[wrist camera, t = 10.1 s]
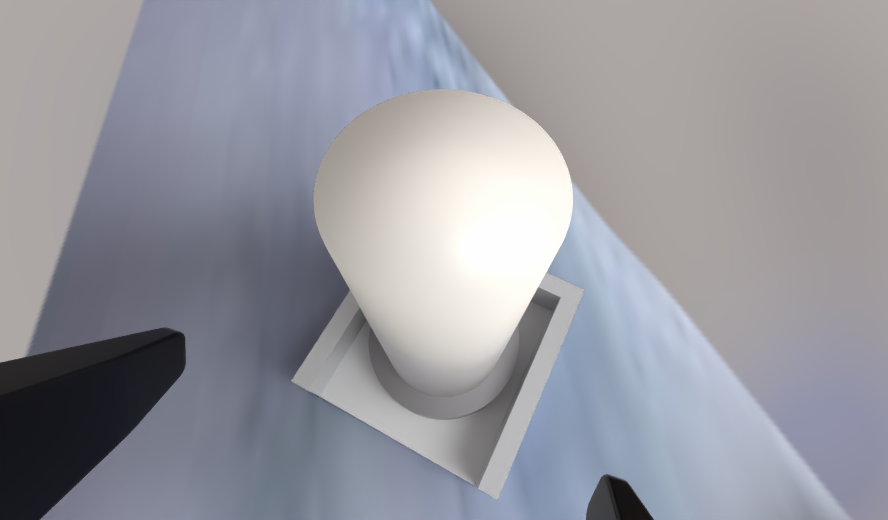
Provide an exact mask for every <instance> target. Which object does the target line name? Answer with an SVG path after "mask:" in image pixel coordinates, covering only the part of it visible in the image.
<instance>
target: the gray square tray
mask: <svg viewBox="0 0 888 520" xmlns="http://www.w3.org/2000/svg"><path fill="white" fill-rule="evenodd" d="M583 293H584V290H583V289H581V288H579V287H576V286H574V285H572V284H570V283H568V282H566V281H563V280H561V279H559V278H557V277H555V276H552V275H550V274H548V273H546V274H545V275H544V277H543V279H542V281H541V283H540V285H539V286H538V288H537V290H536V292H535V294H534V296H533V297H532V299H531V301H530V303H529V305H528V307H527V308H526V310H525V312H524V314H523V316H522V318H521V319H520V321H519V323H518V325H517V326H518V331H519V343H520V345H519V355H518V360H517V364H516V367H515V369H514V372H513V374H512V376H511V378H510V380H509V382H508V383H507V385H506V386H505V387H504V389H503V390H502V391H501V393H500V394H499V395H498V396H497V397H496V398H495V399H494V400H493V401H492V402H491V403H489V404H488V405H487V406H486V407H484V408H483V409H481V410H479V411H478V412H476V413H473V414H471V415H468V416H465V417H462V418H458V419H450V420H437V419H431V418H426V417H423V416H420V415H417V414H415V413H413V412H411V411H409V410H407V409H406V408H404V407H403V406H401V405H400V404H399V403H398V402H396V401H395V400H394V399H393V398H392V397H391V396H390V394H389V393H388V392H387V391H386V390H385V389H384V387H383V386H382V384H381V383H380V381H379V380H378V378H377V376H376V374H375V372H374V369H373V366H372V363H371V359H370V354H369V332H370V327H371V326H370V324H369V323H368V321H367V319H366V317H365V316H364V314H363V312H362V310H361V308H360V307H359V305H358V303H357V301H356V300H355V298H354V296H353V294H352V293H351V291H349V292H348V294H347V295H346V297H345V298H344V300H343V302H342V303H341V305H340V306H339V308H338V309H337V311H336V312H335V314H334V316H333V317H332V319H331V320H330V322H329V323H328V325H327V326H326V328H325V329H324V331H323V333H322V334H321V336H320V337H319V339H318V340H317V342H316V343H315V345H314V346H313V348H312V350H311V351H310V353H309V354H308V356H307V357H306V359H305V360H304V362H303V363H302V365H301V367H300V368H299V370H298V371H297V373H296V374H295V376H294V377H293V379H292V380H291V381H292V382H294V383H295V384H297V385H299V386H301V387H302V388H304V389H306V390H308V391H310V392H312V393H314V394H316V395H318V396H320V397H321V398H323V399H325V400H327V401H328V402H330V403H332V404H334V405H335V406H337V407H339V408H341V409H342V410H344V411H346V412H348V413H349V414H351V415H353V416H355V417H356V418H358V419H360V420H361V421H363V422H365V423H367V424H368V425H370V426H372V427H374V428H375V429H377V430H379V431H381V432H382V433H384V434H386V435H388V436H389V437H391V438H393V439H394V440H396V441H398V442H400V443H401V444H403V445H405V446H407V447H408V448H410V449H412V450H414V451H415V452H417V453H419V454H421V455H422V456H424V457H426V458H427V459H429V460H431V461H433V462H434V463H436V464H438V465H440V466H441V467H443V468H445V469H447V470H448V471H450V472H452V473H454V474H455V475H457V476H459V477H461V478H462V479H464V480H466V481H467V482H469V483H471V484H473V485H474V486H476V487H477V488H478V489H479V490H481V491H483V492H485V493H486V494H488V495H490V496H492V497H493V498H495V499H497V500H498V498H499V495H500V493H501V490H502V488H503V485H504V483H505V481H506V478H507V476H508V473H509V471H510V469H511V466H512V464H513V461H514V459H515V457H516V454H517V452H518V449H519V447H520V444H521V442H522V440H523V437H524V435H525V432H526V430H527V428H528V425H529V423H530V420H531V418H532V416H533V413H534V411H535V408H536V406H537V403H538V401H539V399H540V396H541V394H542V391H543V389H544V387H545V384H546V382H547V379H548V377H549V375H550V372H551V370H552V367H553V365H554V362H555V360H556V358H557V355H558V353H559V350H560V348H561V346H562V343H563V341H564V338H565V336H566V334H567V331H568V329H569V326H570V324H571V321H572V319H573V317H574V314H575V312H576V309H577V307H578V305H579V302H580V300H581V297H582V295H583Z"/></svg>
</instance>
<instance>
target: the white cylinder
mask: <svg viewBox="0 0 888 520" xmlns="http://www.w3.org/2000/svg"><path fill="white" fill-rule="evenodd" d="M572 207H573V192H572V183H571V179H570V175H569V171H568V168H567V165H566V163H565V161H564V158H563V156H562V154H561V152H560V151H559V149H558V148H557V146H556V144H555V143H554V142H553V140H552V139H551V138H550V136H549V135H548V134H547V133H546V132H545V131H544V130H543V129H542V128H541V127H540V126H539V125H538V124H537V123H536V122H535V121H534V120H532V119H531V118H530V117H528V116H527V115H526V114H524V113H523V112H521V111H520V110H518V109H516V108H514V107H513V106H511V105H509V104H507V103H505V102H502V101H500V100H498V99H495V98H492V97H489V96H486V95H483V94H478V93H474V92H469V91H461V90H446V89H437V90H425V91H419V92H413V93H408V94H405V95H401V96H398V97H394V98H392V99H389V100H387V101H384V102H382V103H380V104H378V105H376V106H374V107H372V108H370V109H369V110H367V111H365V112H364V113H363V114H361V115H360V116H358V117H357V118H355V119H354V120H353V121H352V122H351V123H350V124H349V125H347V126H346V127H345V128H344V129H343V130H342V131H341V133H340V134H339V135H338V136H337V137H336V138H335V140H334V141H333V142H332V144H331V145H330V147H329V148H328V150H327V152H326V154H325V156H324V158H323V160H322V162H321V164H320V167H319V170H318V173H317V176H316V181H315V187H314V213H315V220H316V223H317V227H318V230H319V233H320V236H321V238H322V240H323V242H324V244H325V246H326V248H327V250H328V252H329V254H330V255H331V257H332V259H333V261H334V262H335V264H336V266H337V268H338V269H339V271H340V273H341V275H342V277H343V278H344V280H345V282H346V284H347V285H348V287H349V289H350V291H351V293H352V294H353V296H354V298H355V300H356V301H357V303H358V305H359V307H360V308H361V310H362V312H363V314H364V316H365V317H366V319H367V321H368V323H369V324H370V326H371V327H370V332H369V354H370V359H371V363H372V366H373V369H374V372H375V374H376V376H377V378H378V380H379V381H380V383H381V384H382V386H383V387H384V389H385V390H386V391H387V392H388V393H389V394H390V396H391V397H392V398H393V399H394V400H395V401H396V402H398V403H399V404H400V405H401V406H403V407H404V408H406V409H407V410H409V411H411V412H413V413H415V414H417V415H420V416H423V417H426V418H431V419H437V420H450V419H458V418H462V417H465V416H468V415H471V414H473V413H476V412H478V411H479V410H481V409H483V408H484V407H486V406H487V405H488V404H489V403H491V402H492V401H493V400H494V399H495V398H496V397H497V396H498V395H499V394H500V393H501V391H502V390H503V389H504V387H505V386H506V385H507V383H508V382H509V380H510V378H511V376H512V374H513V372H514V369H515V367H516V364H517V360H518V355H519V345H520V343H519V331H518V326H517V325H518V323H519V321H520V319H521V318H522V316H523V314H524V312H525V310H526V308H527V307H528V305H529V303H530V301H531V299H532V297H533V296H534V294H535V292H536V290H537V288H538V286H539V285H540V283H541V281H542V279H543V277H544V275H545V274H546V272H547V270H548V268H549V266H550V264H551V263H552V261H553V259H554V257H555V255H556V253H557V252H558V250H559V248H560V246H561V244H562V243H563V241H564V239H565V236H566V233H567V230H568V228H569V225H570V220H571V215H572Z"/></svg>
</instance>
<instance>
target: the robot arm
mask: <svg viewBox="0 0 888 520" xmlns="http://www.w3.org/2000/svg"><path fill="white" fill-rule="evenodd" d="M185 365H186V349H185V336H184V334H183V333H181V332H179V331H176V330H173V329H170V328H159V329H154V330H149V331H145V332H140V333H135V334H131V335H126V336H122V337H117V338H112V339H108V340H103V341H98V342H94V343H89V344H85V345H80V346H75V347H71V348H66V349H61V350H57V351H52V352H48V353H43V354H38V355H34V356H29V357H24V358H20V359H15V360H11V361H6V362H1V363H0V520H40V519H41V518H42V517H43V516H44V515H45V514H46V513H47V512H48V511H49V510H50V509H51V508H53V507H54V506H55V505H56V504H57V503H58V502H59V501H60V500H61V499H62V498H63V497H64V496H65V495H66V494H67V493H68V492H69V491H70V490H71V489H72V488H73V487H74V486H76V485H77V484H78V483H79V482H80V481H81V480H82V479H83V478H84V477H85V476H86V475H87V474H88V473H89V472H90V471H91V470H92V469H93V468H94V467H95V466H96V465H97V464H99V463H100V462H101V461H102V460H103V459H104V458H105V457H106V456H107V455H108V454H109V453H110V452H111V451H112V450H113V449H114V448H115V447H116V446H117V445H118V444H119V443H120V442H121V441H122V440H123V439H124V438H125V437H126V436H127V435H128V434H129V433H130V432H131V431H132V430H133V429H134V428H135V427H136V426H137V425H138V424H139V423H140V421H141V420H142V419H143V418H144V417H145V416H146V415H147V413H148V412H149V411H150V410H151V409H152V408H153V407H154V405H155V404H156V403H157V402H158V401H159V400H160V399H161V397H162V396H163V395H164V394H165V393H166V392H167V391H168V389H169V388H170V387H171V386H172V385H173V384H174V383H175V381H176V380H177V379H178V378H179V377H180V376H181V374H182V373H183V371H184V368H185ZM586 520H654V519H653V518H652V516H651V515H650V513H649V512H648V510H647V509H646V508H645V506H644V505H643V503H642V502H641V500H640V499H639V498H638V496H637V495H636V493H635V492H634V490H633V489H632V487H631V486H630V485H629V483H628V482H627V481H625V480H623V479H620V478H617V477H614V476H611V475H608V474H606V475H603V476H602V477H601V479H600V481H599V483H598V485H597V487H596V489H595V491H594V493H593V496H592V498H591V500H590V502H589V504H588V508H587V514H586Z"/></svg>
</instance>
